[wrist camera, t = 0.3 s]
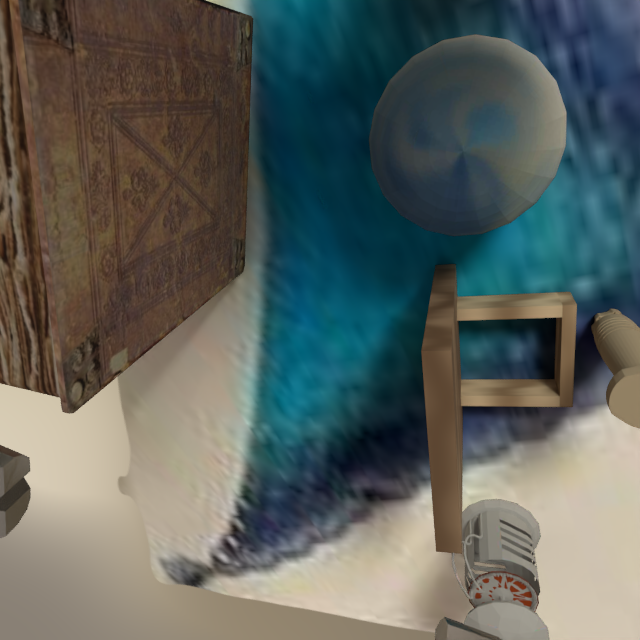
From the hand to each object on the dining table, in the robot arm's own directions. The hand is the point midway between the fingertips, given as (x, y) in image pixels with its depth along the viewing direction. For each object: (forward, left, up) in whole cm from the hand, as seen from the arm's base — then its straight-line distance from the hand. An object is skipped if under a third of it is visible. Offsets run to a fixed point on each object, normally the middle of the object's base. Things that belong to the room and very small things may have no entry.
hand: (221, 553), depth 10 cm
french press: (+36, +24, -47) cm, 64 cm away
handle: (+7, +23, -47) cm, 53 cm away
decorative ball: (-5, +3, -47) cm, 48 cm away
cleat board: (+13, +15, -47) cm, 51 cm away
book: (+5, -21, -47) cm, 52 cm away
